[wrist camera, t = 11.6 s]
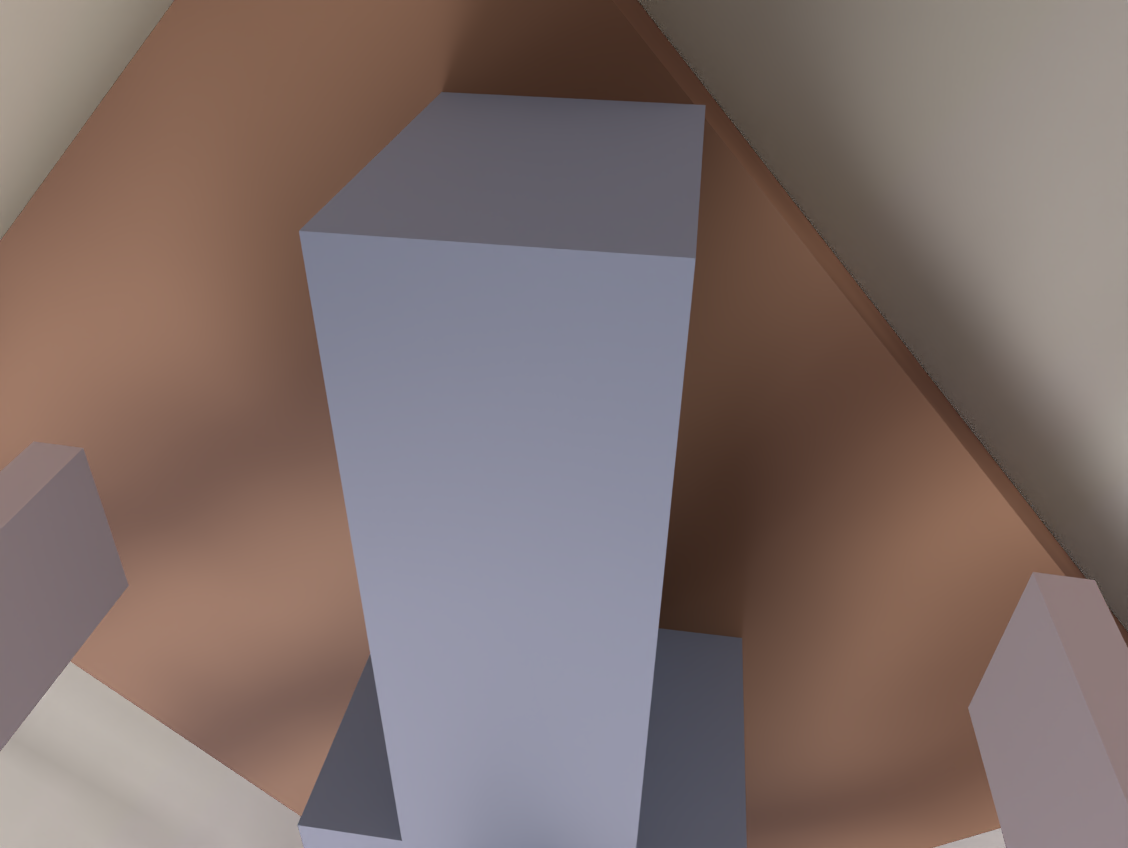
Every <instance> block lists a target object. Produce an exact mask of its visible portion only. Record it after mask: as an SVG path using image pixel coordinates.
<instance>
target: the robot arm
mask: <svg viewBox="0 0 1128 848" xmlns="http://www.w3.org/2000/svg"><path fill="white" fill-rule="evenodd" d="M128 586H129V585H128V582H127V579H126V576H125V573H124V570H123V567H122V564H121V561H120V558H119V555H118V552H117V549H116V546H115V543H114V540H113V536H112V533H111V530H110V527H109V524H108V521H107V518H106V515H105V512H104V509H103V506H102V503H101V500H100V497H99V494H98V491H97V488H96V485H95V482H94V479H93V476H92V473H91V470H90V467H89V464H88V461H87V458H86V455H85V452H84V449H83V448H80V447H72V446H64V445H57V444H49V443H41V442H32V443H31V444H30V445H29V446H28V447H27V448H26V449H25V450H24V451H23V452H21V453H20V454H19V455H18V456H17V457H16V458H15V459H14V460H13V461H11V462H10V463H9V464H8V465H7V466H6V467H5V468H4V469H3V470H2V471H0V751H1V750H2V748H3V747H4V746H5V745H6V743H7V742H8V741H9V739H10V738H11V737H12V735H13V734H14V733H15V732H16V730H17V729H18V728H19V726H20V725H21V724H22V723H23V721H24V720H25V719H26V717H27V716H28V715H29V714H30V712H31V711H32V710H33V708H34V707H35V706H36V704H37V703H38V702H39V701H40V699H41V698H42V697H43V695H44V694H45V693H46V692H47V690H48V689H49V688H50V686H51V685H52V684H53V683H54V681H55V680H56V679H57V677H58V676H59V675H60V674H61V672H62V671H63V670H64V668H65V667H66V666H67V664H68V663H69V662H70V661H71V659H72V658H73V657H74V655H75V654H76V653H77V652H78V650H79V649H80V648H81V646H82V645H83V644H84V643H85V641H86V640H87V639H88V637H89V636H90V635H91V634H92V632H93V631H94V630H95V628H96V627H97V626H98V624H99V623H100V622H101V621H102V619H103V618H104V617H105V615H106V614H107V613H108V612H109V610H110V609H111V608H112V606H113V605H114V604H115V603H116V601H117V600H118V599H119V597H120V596H121V595H122V593H123V592H124V591H125V590H126V588H127V587H128ZM968 709H969V713H970V717H971V720H972V724H973V728H974V731H975V735H976V739H977V742H978V746H979V750H980V753H981V757H982V761H983V764H984V768H985V771H986V775H987V779H988V782H989V786H990V790H991V793H992V797H993V801H994V804H995V808H996V812H997V815H998V819H999V823H1000V826H1001V830H1002V834H1003V837H1004V841H1005V844H1006V848H1128V647H1127V645H1126V643H1125V641H1124V639H1123V637H1122V635H1121V633H1120V631H1119V629H1118V627H1117V625H1116V623H1115V620H1114V618H1113V616H1112V614H1111V612H1110V610H1109V608H1108V606H1107V604H1106V602H1105V600H1104V598H1103V596H1102V594H1101V592H1100V590H1099V588H1098V586H1097V583H1096V581H1095V580H1090V579H1083V578H1075V577H1067V576H1060V575H1052V574H1044V573H1037V572H1033V573H1032V575H1031V577H1030V579H1029V581H1028V583H1027V585H1026V588H1025V590H1024V592H1023V594H1022V596H1021V598H1020V600H1019V602H1018V604H1017V606H1016V609H1015V611H1014V613H1013V615H1012V617H1011V619H1010V621H1009V623H1008V625H1007V627H1006V629H1005V632H1004V634H1003V636H1002V638H1001V640H1000V642H999V644H998V646H997V648H996V650H995V653H994V655H993V657H992V659H991V661H990V663H989V665H988V667H987V669H986V671H985V674H984V676H983V678H982V680H981V682H980V684H979V686H978V688H977V690H976V692H975V695H974V697H973V699H972V701H971V703H970V705H969V707H968Z"/></svg>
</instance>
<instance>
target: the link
mask: <svg viewBox="0 0 1128 848" xmlns="http://www.w3.org/2000/svg"><path fill="white" fill-rule="evenodd" d="M705 106H706V105H694V104H674V103H653V102H633V101H613V100H592V99H572V98H552V97H531V96H511V95H491V94H470V93H450V92H441V93H440V94H439V95H438V96H437V97H436V98H435V99H434V100H433V101H432V102H431V103H430V104H429V105H428V106H427V107H426V108H425V109H424V110H423V111H422V112H421V113H420V114H418V115H417V116H416V117H415V118H414V119H413V120H412V121H411V122H410V123H409V124H408V125H407V126H406V127H405V128H404V129H403V130H402V131H401V132H400V133H399V134H398V135H397V136H396V137H395V138H394V139H393V140H392V141H391V142H390V143H389V144H388V145H387V146H386V147H385V148H384V149H383V150H381V151H380V152H379V153H378V154H377V155H376V156H375V157H374V158H373V159H372V160H371V161H370V162H369V163H368V164H367V165H366V166H365V167H364V168H363V169H362V170H361V171H360V172H359V173H358V174H357V175H356V176H355V177H354V178H353V179H352V180H351V181H350V182H349V183H348V184H347V185H346V186H345V187H343V188H342V189H341V190H340V191H339V192H338V193H337V194H336V195H335V196H334V197H333V198H332V199H331V200H330V201H329V202H328V203H327V204H326V205H325V206H324V207H323V208H322V209H321V210H320V211H319V212H318V213H317V214H316V215H315V216H314V217H313V218H312V219H311V220H310V221H309V222H308V223H306V224H305V225H304V226H303V227H302V228H301V229H300V230H299V234H300V240H301V246H302V252H303V258H304V264H305V270H306V276H307V282H308V288H309V294H310V300H311V305H312V311H313V317H314V323H315V329H316V335H317V341H318V347H319V353H320V359H321V365H322V371H323V376H324V382H325V388H326V394H327V400H328V406H329V412H330V418H331V424H332V430H333V436H334V442H335V447H336V453H337V459H338V465H339V471H340V477H341V483H342V489H343V495H344V501H345V507H346V513H347V518H348V524H349V530H350V536H351V542H352V548H353V554H354V560H355V566H356V572H357V578H358V584H359V589H360V595H361V601H362V607H363V613H364V619H365V625H366V631H367V637H368V643H369V649H370V655H369V658H368V660H367V662H366V665H365V667H364V669H363V672H362V674H361V676H360V679H359V681H358V684H357V686H356V688H355V691H354V693H353V695H352V698H351V700H350V702H349V705H348V707H347V710H346V712H345V714H344V717H343V719H342V721H341V724H340V726H339V728H338V731H337V733H336V736H335V738H334V740H333V743H332V745H331V747H330V750H329V752H328V754H327V757H326V759H325V762H324V764H323V766H322V769H321V771H320V773H319V776H318V778H317V780H316V783H315V785H314V788H313V790H312V792H311V795H310V797H309V799H308V802H307V804H306V806H305V809H304V811H303V814H302V816H301V818H300V821H299V823H298V828H299V832H300V835H301V839H302V842H303V846H304V848H747V837H746V792H745V746H744V701H743V655H742V638H737V637H728V636H720V635H711V634H703V633H694V632H686V631H678V630H669V629H661V628H658V627H659V617H660V607H661V597H662V587H663V577H664V567H665V558H666V548H667V538H668V528H669V518H670V508H671V498H672V488H673V478H674V468H675V458H676V449H677V439H678V429H679V419H680V409H681V399H682V389H683V379H684V369H685V359H686V350H687V340H688V330H689V320H690V310H691V300H692V290H693V280H694V270H695V260H696V246H697V230H698V215H699V199H700V184H701V168H702V153H703V137H704V122H705Z"/></svg>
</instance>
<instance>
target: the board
mask: <svg viewBox="0 0 1128 848" xmlns="http://www.w3.org/2000/svg"><path fill="white" fill-rule="evenodd" d="M441 92H450V93H470V94H491V95H511V96H531V97H552V98H572V99H592V100H613V101H633V102H653V103H674V104H694V105H706V106H705V122H704V137H703V153H702V168H701V184H700V199H699V215H698V230H697V246H696V260H695V270H694V280H693V290H692V300H691V310H690V320H689V330H688V340H687V350H686V359H685V369H684V379H683V389H682V399H681V409H680V419H679V429H678V439H677V449H676V458H675V468H674V478H673V488H672V498H671V508H670V518H669V528H668V538H667V548H666V558H665V567H664V577H663V587H662V597H661V607H660V617H659V627H658V628H661V629H669V630H678V631H686V632H694V633H703V634H711V635H720V636H728V637H737V638H742V655H743V701H744V746H745V792H746V837H747V848H933V847H937V846H940V845H944V844H947V843H950V842H954V841H957V840H961V839H964V838H968V837H971V836H974V835H978V834H981V833H985V832H988V831H992V830H995V829H998V828H1001V826H1000V823H999V819H998V815H997V812H996V808H995V804H994V801H993V797H992V793H991V790H990V786H989V782H988V779H987V775H986V771H985V768H984V764H983V761H982V757H981V753H980V750H979V746H978V742H977V739H976V735H975V731H974V728H973V724H972V720H971V717H970V713H969V709H968V707H969V705H970V703H971V701H972V699H973V697H974V695H975V692H976V690H977V688H978V686H979V684H980V682H981V680H982V678H983V676H984V674H985V671H986V669H987V667H988V665H989V663H990V661H991V659H992V657H993V655H994V653H995V650H996V648H997V646H998V644H999V642H1000V640H1001V638H1002V636H1003V634H1004V632H1005V629H1006V627H1007V625H1008V623H1009V621H1010V619H1011V617H1012V615H1013V613H1014V611H1015V609H1016V606H1017V604H1018V602H1019V600H1020V598H1021V596H1022V594H1023V592H1024V590H1025V588H1026V585H1027V583H1028V581H1029V579H1030V577H1031V575H1032V573H1033V572H1037V573H1044V574H1052V575H1060V576H1067V577H1075V578H1083V579H1086V578H1085V576H1084V575H1083V574H1082V573H1081V571H1080V570H1079V569H1078V567H1077V566H1076V565H1075V564H1074V562H1073V561H1072V560H1071V558H1070V557H1069V556H1068V555H1067V553H1066V552H1065V551H1064V549H1063V548H1062V547H1061V546H1060V544H1059V543H1058V542H1057V540H1056V539H1055V538H1054V537H1053V535H1052V534H1051V533H1050V531H1049V530H1048V529H1047V528H1046V526H1045V525H1044V524H1043V522H1042V521H1041V520H1040V519H1039V517H1038V516H1037V515H1036V513H1035V512H1034V511H1033V509H1032V508H1031V507H1030V506H1029V504H1028V503H1027V502H1026V500H1025V499H1024V498H1023V497H1022V495H1021V494H1020V493H1019V491H1018V490H1017V489H1016V488H1015V486H1014V485H1013V484H1012V482H1011V481H1010V480H1009V479H1008V477H1007V476H1006V475H1005V473H1004V472H1003V471H1002V470H1001V468H1000V467H999V466H998V464H997V463H996V462H995V461H994V459H993V458H992V457H991V455H990V454H989V453H988V452H987V450H986V449H985V448H984V446H983V445H982V444H981V443H980V441H979V440H978V439H977V437H976V436H975V435H974V433H973V432H972V431H971V430H970V428H969V427H968V426H967V424H966V423H965V422H964V421H963V419H962V418H961V417H960V415H959V414H958V413H957V412H956V410H955V409H954V408H953V406H952V405H951V404H950V403H949V401H948V400H947V399H946V397H945V396H944V395H943V394H942V392H941V391H940V390H939V388H938V387H937V386H936V385H935V383H934V382H933V381H932V379H931V378H930V377H929V376H928V374H927V373H926V372H925V370H924V369H923V368H922V366H921V365H920V364H919V363H918V361H917V360H916V359H915V357H914V356H913V355H912V354H911V352H910V351H909V350H908V348H907V347H906V346H905V345H904V343H903V342H902V341H901V339H900V338H899V337H898V336H897V334H896V333H895V332H894V330H893V329H892V328H891V327H890V325H889V324H888V323H887V321H886V320H885V319H884V318H883V316H882V315H881V314H880V312H879V311H878V310H877V309H876V307H875V306H874V305H873V303H872V302H871V301H870V299H869V298H868V297H867V296H866V294H865V293H864V292H863V290H862V289H861V288H860V287H859V285H858V284H857V283H856V281H855V280H854V279H853V278H852V276H851V275H850V274H849V272H848V271H847V270H846V269H845V267H844V266H843V265H842V263H841V262H840V261H839V260H838V258H837V257H836V256H835V254H834V253H833V252H832V251H831V249H830V248H829V247H828V245H827V244H826V243H825V242H824V240H823V239H822V238H821V236H820V235H819V234H818V233H817V231H816V230H815V229H814V227H813V226H812V225H811V223H810V222H809V221H808V220H807V218H806V217H805V216H804V214H803V213H802V212H801V211H800V209H799V208H798V207H797V205H796V204H795V203H794V202H793V200H792V199H791V198H790V196H789V195H788V194H787V193H786V191H785V190H784V189H783V187H782V186H781V185H780V184H779V182H778V181H777V180H776V178H775V177H774V176H773V175H772V173H771V172H770V171H769V169H768V168H767V167H766V166H765V164H764V163H763V162H762V160H761V159H760V158H759V156H758V155H757V154H756V153H755V151H754V150H753V149H752V147H751V146H750V145H749V144H748V142H747V141H746V140H745V138H744V137H743V136H742V135H741V133H740V132H739V131H738V129H737V128H736V127H735V126H734V124H733V123H732V122H731V120H730V119H729V118H728V117H727V115H726V114H725V113H724V111H723V110H722V109H721V108H720V106H719V105H718V104H717V102H716V101H715V100H714V99H713V97H712V96H711V95H710V93H709V92H708V91H707V90H706V88H705V87H704V86H703V84H702V83H701V82H700V80H699V79H698V78H697V77H696V75H695V74H694V73H693V71H692V70H691V69H690V68H689V66H688V65H687V64H686V62H685V61H684V60H683V59H682V57H681V56H680V55H679V53H678V52H677V51H676V50H675V48H674V47H673V46H672V44H671V43H670V42H669V41H668V39H667V38H666V37H665V35H664V34H663V33H662V32H661V30H660V29H659V28H658V26H657V25H656V24H655V23H654V21H653V20H652V19H651V17H650V16H649V15H648V13H647V12H646V11H645V10H644V8H643V7H642V6H641V4H640V3H639V2H638V1H637V0H174V2H173V3H172V4H171V6H170V7H169V8H168V10H167V11H166V13H165V14H164V15H163V17H162V18H161V20H160V21H159V22H158V24H157V25H156V26H155V28H154V29H153V31H152V32H151V33H150V35H149V36H148V37H147V39H146V40H145V42H144V43H143V44H142V46H141V47H140V49H139V50H138V51H137V53H136V54H135V55H134V57H133V58H132V60H131V61H130V62H129V64H128V65H127V67H126V68H125V69H124V71H123V72H122V73H121V75H120V76H119V78H118V79H117V80H116V82H115V83H114V84H113V86H112V87H111V89H110V90H109V91H108V93H107V94H106V96H105V97H104V98H103V100H102V101H101V102H100V104H99V105H98V107H97V108H96V109H95V111H94V112H93V114H92V115H91V116H90V118H89V119H88V120H87V122H86V123H85V125H84V126H83V127H82V129H81V130H80V131H79V133H78V134H77V136H76V137H75V138H74V140H73V141H72V143H71V144H70V145H69V147H68V148H67V149H66V151H65V152H64V154H63V155H62V156H61V158H60V159H59V161H58V162H57V163H56V165H55V166H54V167H53V169H52V170H51V172H50V173H49V174H48V176H47V177H46V178H45V180H44V181H43V183H42V184H41V185H40V187H39V188H38V190H37V191H36V192H35V194H34V195H33V196H32V198H31V199H30V201H29V202H28V203H27V205H26V206H25V208H24V209H23V210H22V212H21V213H20V214H19V216H18V217H17V219H16V220H15V221H14V223H13V224H12V225H11V227H10V228H9V230H8V231H7V232H6V234H5V235H4V237H3V238H2V239H1V241H0V471H2V470H3V469H4V468H5V467H6V466H7V465H8V464H9V463H10V462H11V461H13V460H14V459H15V458H16V457H17V456H18V455H19V454H20V453H21V452H23V451H24V450H25V449H26V448H27V447H28V446H29V445H30V444H31V443H32V442H41V443H49V444H57V445H64V446H72V447H80V448H83V449H84V452H85V455H86V458H87V461H88V464H89V467H90V470H91V473H92V476H93V479H94V482H95V485H96V488H97V491H98V494H99V497H100V500H101V503H102V506H103V509H104V512H105V515H106V518H107V521H108V524H109V527H110V530H111V533H112V536H113V540H114V543H115V546H116V549H117V552H118V555H119V558H120V561H121V564H122V567H123V570H124V573H125V576H126V579H127V582H128V585H129V586H128V587H127V588H126V590H125V591H124V592H123V593H122V595H121V596H120V597H119V599H118V600H117V601H116V603H115V604H114V605H113V606H112V608H111V609H110V610H109V612H108V613H107V614H106V615H105V617H104V618H103V619H102V621H101V622H100V623H99V624H98V626H97V627H96V628H95V630H94V631H93V632H92V634H91V635H90V636H89V637H88V639H87V640H86V641H85V643H84V644H83V645H82V646H81V648H80V649H79V650H78V652H77V653H76V654H75V655H74V657H73V658H72V659H71V662H72V663H74V664H75V665H77V666H78V667H80V668H81V669H83V670H84V671H86V672H87V673H89V674H90V675H92V676H93V677H95V678H96V679H97V680H99V681H100V682H102V683H103V684H105V685H106V686H108V687H109V688H111V689H112V690H114V691H115V692H117V693H118V694H120V695H121V696H123V697H124V698H126V699H127V700H129V701H130V702H132V703H133V704H135V705H136V706H138V707H139V708H141V709H142V710H144V711H145V712H147V713H148V714H150V715H151V716H153V717H154V718H155V719H157V720H158V721H160V722H161V723H163V724H164V725H166V726H167V727H169V728H170V729H172V730H173V731H175V732H176V733H178V734H179V735H181V736H182V737H184V738H185V739H187V740H188V741H190V742H191V743H193V744H194V745H196V746H197V747H199V748H200V749H202V750H203V751H205V752H206V753H208V754H209V755H211V756H212V757H213V758H215V759H216V760H218V761H219V762H221V763H222V764H224V765H225V766H227V767H228V768H230V769H231V770H233V771H234V772H236V773H237V774H239V775H240V776H242V777H243V778H245V779H246V780H248V781H249V782H251V783H252V784H254V785H255V786H257V787H258V788H260V789H261V790H263V791H264V792H266V793H267V794H268V795H270V796H271V797H273V798H274V799H276V800H277V801H279V802H280V803H282V804H283V805H285V806H286V807H288V808H289V809H291V810H292V811H294V812H295V813H297V814H298V815H300V816H302V814H303V811H304V809H305V806H306V804H307V802H308V799H309V797H310V795H311V792H312V790H313V788H314V785H315V783H316V780H317V778H318V776H319V773H320V771H321V769H322V766H323V764H324V762H325V759H326V757H327V754H328V752H329V750H330V747H331V745H332V743H333V740H334V738H335V736H336V733H337V731H338V728H339V726H340V724H341V721H342V719H343V717H344V714H345V712H346V710H347V707H348V705H349V702H350V700H351V698H352V695H353V693H354V691H355V688H356V686H357V684H358V681H359V679H360V676H361V674H362V672H363V669H364V667H365V665H366V662H367V660H368V658H369V655H370V649H369V643H368V637H367V631H366V625H365V619H364V613H363V607H362V601H361V595H360V589H359V584H358V578H357V572H356V566H355V560H354V554H353V548H352V542H351V536H350V530H349V524H348V518H347V513H346V507H345V501H344V495H343V489H342V483H341V477H340V471H339V465H338V459H337V453H336V447H335V442H334V436H333V430H332V424H331V418H330V412H329V406H328V400H327V394H326V388H325V382H324V376H323V371H322V365H321V359H320V353H319V347H318V341H317V335H316V329H315V323H314V317H313V311H312V305H311V300H310V294H309V288H308V282H307V276H306V270H305V264H304V258H303V252H302V246H301V240H300V234H299V230H300V229H301V228H302V227H303V226H304V225H305V224H306V223H308V222H309V221H310V220H311V219H312V218H313V217H314V216H315V215H316V214H317V213H318V212H319V211H320V210H321V209H322V208H323V207H324V206H325V205H326V204H327V203H328V202H329V201H330V200H331V199H332V198H333V197H334V196H335V195H336V194H337V193H338V192H339V191H340V190H341V189H342V188H343V187H345V186H346V185H347V184H348V183H349V182H350V181H351V180H352V179H353V178H354V177H355V176H356V175H357V174H358V173H359V172H360V171H361V170H362V169H363V168H364V167H365V166H366V165H367V164H368V163H369V162H370V161H371V160H372V159H373V158H374V157H375V156H376V155H377V154H378V153H379V152H380V151H381V150H383V149H384V148H385V147H386V146H387V145H388V144H389V143H390V142H391V141H392V140H393V139H394V138H395V137H396V136H397V135H398V134H399V133H400V132H401V131H402V130H403V129H404V128H405V127H406V126H407V125H408V124H409V123H410V122H411V121H412V120H413V119H414V118H415V117H416V116H417V115H418V114H420V113H421V112H422V111H423V110H424V109H425V108H426V107H427V106H428V105H429V104H430V103H431V102H432V101H433V100H434V99H435V98H436V97H437V96H438V95H439V94H440V93H441ZM1108 608H1109V607H1108ZM1109 610H1110V609H1109ZM1110 612H1111V614H1112V616H1113V618H1114V620H1115V623H1116V625H1117V627H1118V629H1119V631H1120V633H1121V635H1122V637H1123V639H1124V641H1125V643H1126V645H1127V647H1128V632H1127V631H1126V629H1125V628H1124V627H1123V625H1122V624H1121V623H1120V622H1119V620H1118V619H1117V618H1116V616H1115V615H1114V614H1113V613H1112V611H1111V610H1110Z"/></svg>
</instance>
